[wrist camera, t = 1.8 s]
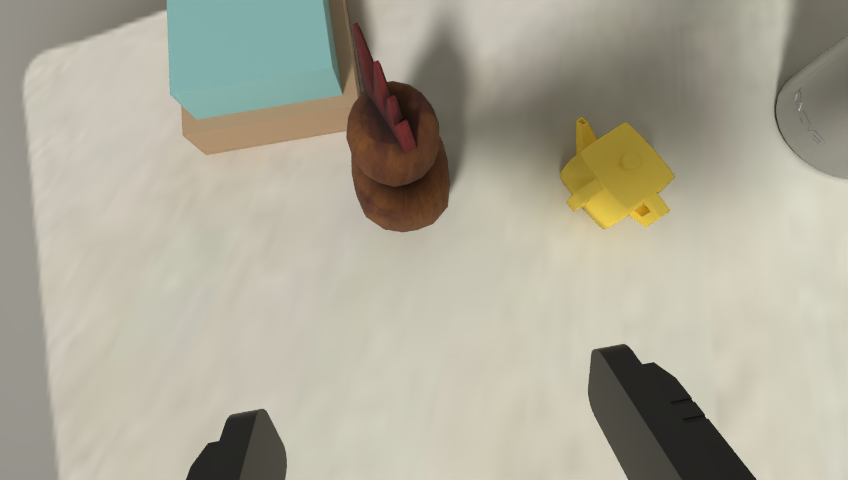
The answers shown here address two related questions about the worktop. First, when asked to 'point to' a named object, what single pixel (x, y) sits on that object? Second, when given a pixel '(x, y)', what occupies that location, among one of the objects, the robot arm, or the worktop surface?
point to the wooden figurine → (395, 150)
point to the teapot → (616, 176)
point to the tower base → (260, 70)
